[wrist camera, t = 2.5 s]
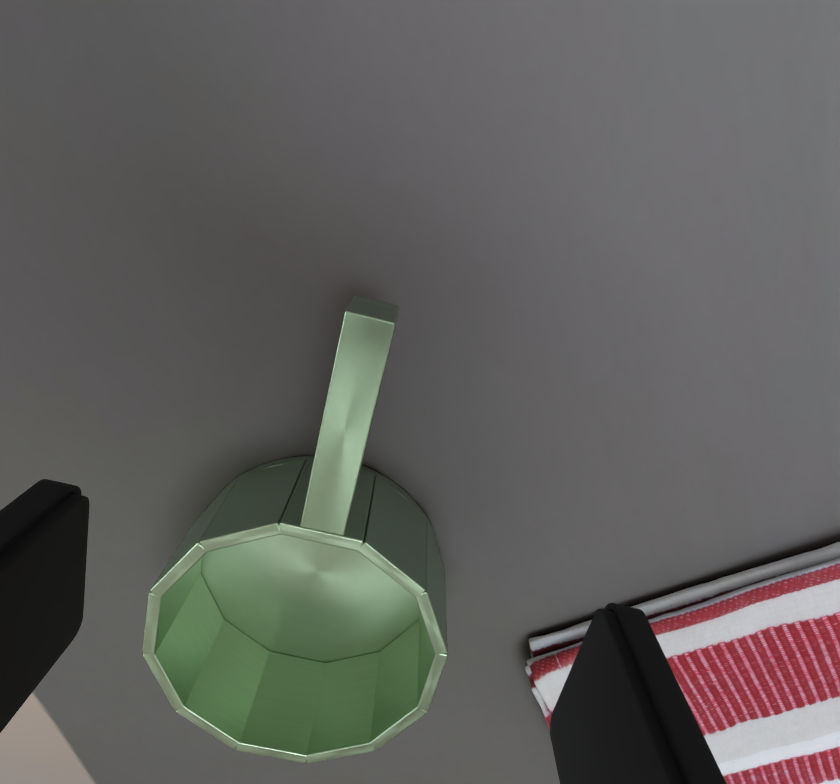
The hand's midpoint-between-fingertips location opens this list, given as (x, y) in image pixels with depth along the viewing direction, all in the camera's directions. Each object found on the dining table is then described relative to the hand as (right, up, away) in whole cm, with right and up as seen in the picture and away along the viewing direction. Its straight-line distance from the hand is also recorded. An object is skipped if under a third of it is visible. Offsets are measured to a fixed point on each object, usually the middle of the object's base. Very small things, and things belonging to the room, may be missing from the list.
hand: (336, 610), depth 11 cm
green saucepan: (-2, -1, +16) cm, 16 cm away
